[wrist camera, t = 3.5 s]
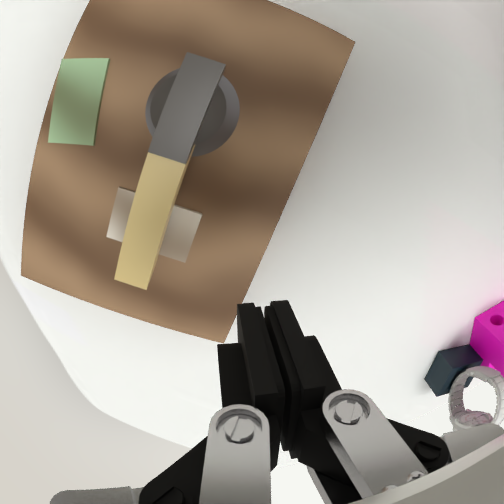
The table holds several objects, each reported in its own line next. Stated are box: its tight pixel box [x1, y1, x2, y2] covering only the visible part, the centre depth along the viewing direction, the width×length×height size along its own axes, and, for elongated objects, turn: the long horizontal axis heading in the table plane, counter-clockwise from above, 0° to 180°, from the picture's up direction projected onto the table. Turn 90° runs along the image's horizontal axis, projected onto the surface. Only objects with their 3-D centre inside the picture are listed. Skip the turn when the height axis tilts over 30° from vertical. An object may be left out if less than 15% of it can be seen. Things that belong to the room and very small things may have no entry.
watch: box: [425, 344, 504, 431], centre depth 25 cm, size 6×8×11 cm
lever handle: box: [114, 52, 226, 290], centre depth 15 cm, size 12×4×4 cm, turn 158°
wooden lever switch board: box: [21, 0, 355, 343], centre depth 17 cm, size 22×16×2 cm
